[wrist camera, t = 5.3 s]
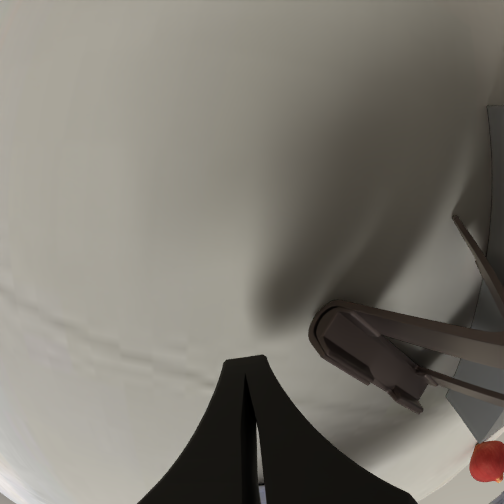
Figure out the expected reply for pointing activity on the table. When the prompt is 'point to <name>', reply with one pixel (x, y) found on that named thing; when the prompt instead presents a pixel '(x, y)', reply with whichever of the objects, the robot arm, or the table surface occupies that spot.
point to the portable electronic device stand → (411, 331)
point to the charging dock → (487, 305)
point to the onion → (488, 461)
